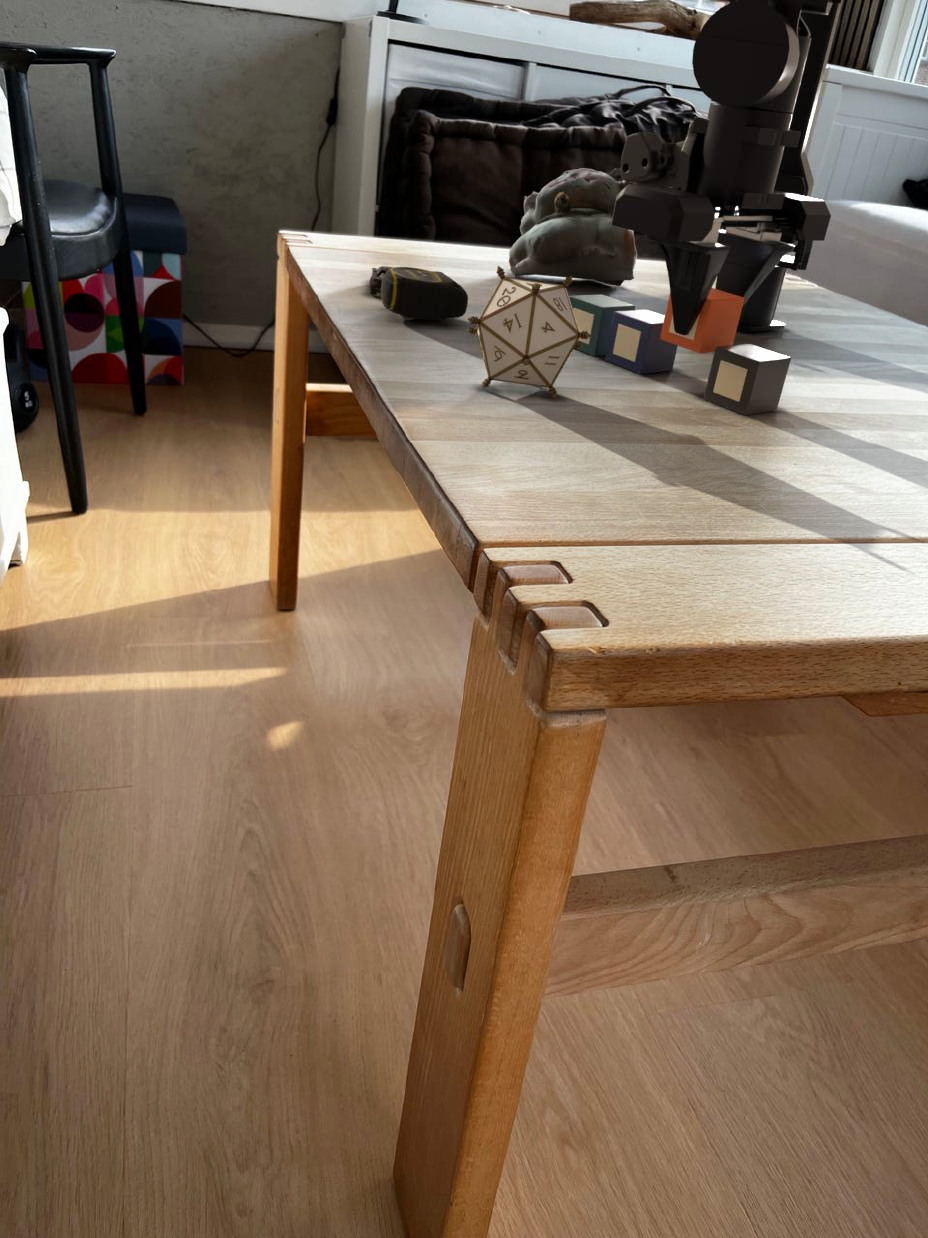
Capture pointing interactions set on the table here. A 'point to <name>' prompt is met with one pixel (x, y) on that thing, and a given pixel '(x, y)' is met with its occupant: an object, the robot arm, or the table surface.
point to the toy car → (377, 279)
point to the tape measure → (422, 294)
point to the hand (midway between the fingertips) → (699, 332)
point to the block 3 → (746, 378)
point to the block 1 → (596, 320)
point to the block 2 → (639, 342)
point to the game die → (527, 332)
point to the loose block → (707, 323)
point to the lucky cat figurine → (575, 230)
